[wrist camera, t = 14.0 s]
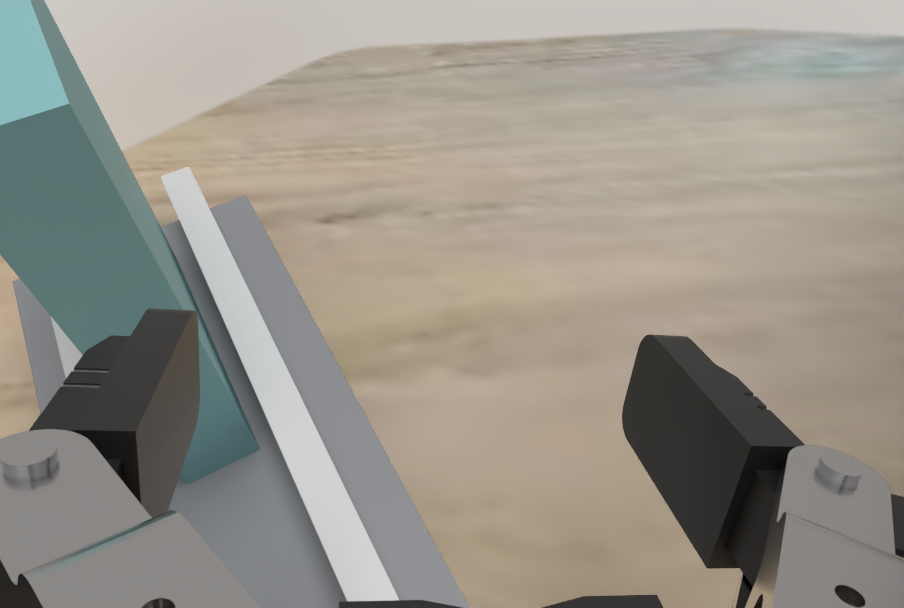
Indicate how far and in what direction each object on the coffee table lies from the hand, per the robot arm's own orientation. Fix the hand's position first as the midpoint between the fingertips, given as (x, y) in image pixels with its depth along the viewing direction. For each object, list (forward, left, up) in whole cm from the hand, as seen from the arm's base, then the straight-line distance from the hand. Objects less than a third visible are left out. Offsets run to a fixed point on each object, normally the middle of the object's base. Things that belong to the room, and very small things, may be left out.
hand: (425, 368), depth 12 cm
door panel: (+5, -11, -11) cm, 16 cm away
